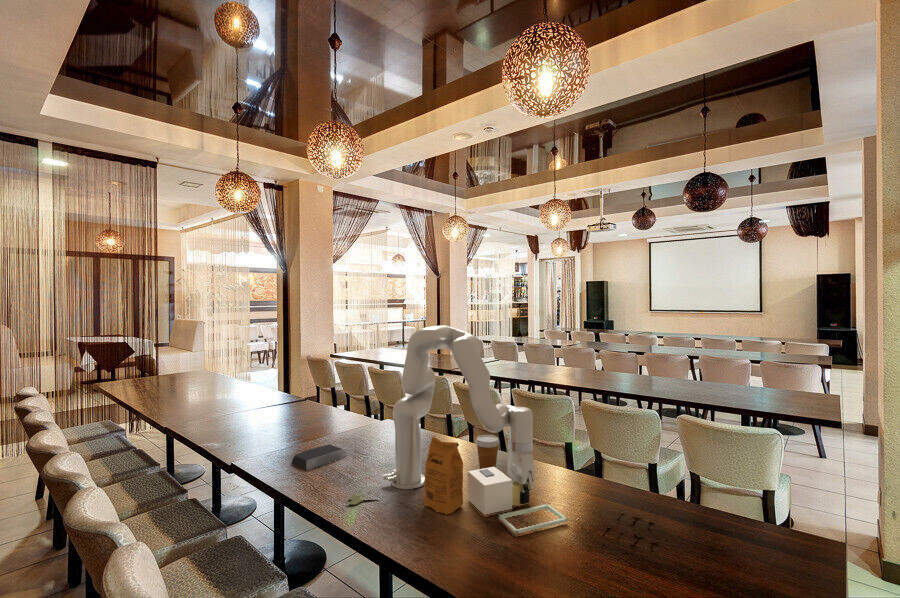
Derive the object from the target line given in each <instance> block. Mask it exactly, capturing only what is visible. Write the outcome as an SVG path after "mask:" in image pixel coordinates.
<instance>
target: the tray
mask: <svg viewBox="0 0 900 598" xmlns="http://www.w3.org/2000/svg"><path fill="white" fill-rule="evenodd" d="M543 509H545V510H546V509H548V512H552V513H554V515H557V516H558V517H559V518H560V519H559V518H558V519H557V520H555V519H554V520H553V521H549V522H545V523H540V524H536V525H532V526H528V527H524V528H520V529H516V528H515V527H514V526H513V525H512V524H511V523H509V522H508V521H507V520H506V519H505V518H508V517H512V516H517V515H522V514H526V513H530V512H535V511H539V510H543ZM549 510H550V511H549ZM545 512H546V511H545ZM526 515H527V514H526ZM499 519H500V520H502V521H503V522H504V523H505V524H506V525H507V526H508V527H509V528H510V529H511V530H512V531H513V532H514V533H515V534H518V533H523V532H527V531H531V530H535V529H539V528H544V527H548V526H552V525H556V524H560V523H563V522H567V521H568V517H566V515H563V514H562V513H561V512H559V511H558V510H557V509H555V508H554V507H553V506H551V505H550V504H548V503H546V504H542V505H536V506H533V507H529V508H524V509H519V510H515V511H512V512H507V513H503V514H498V520H499Z"/></svg>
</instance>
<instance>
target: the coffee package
mask: <svg viewBox="0 0 900 598" xmlns="http://www.w3.org/2000/svg"><path fill="white" fill-rule="evenodd" d="M459 445H460V444H459V443H458V442H454V441H453V442H452V441H441V440H440V439H438V437H436V436H435V435H434V436H432V437H431V440H430V444H429V447H428V452H427V457H426V461H425V470H424V471H425V472H424V477H425V479H424V485H423V490H424V506H425V507H426V506H428V507H427V508H430V507H431V508H430V509H432V510H433V509H434V510H435V511H438V512H442V513H441V514H443V513H445V515H447V514H449V515H451V514H453V513H454V512H455V511H456V510H458V509H459V508H461V507H462V506H463V505H464V492H463V486H464V462H463V458H462V456H461V453H460V450H459ZM434 510H433V511H434ZM435 511H434V512H435ZM438 512H437V513H438ZM450 513H451V514H450Z"/></svg>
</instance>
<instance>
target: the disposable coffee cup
mask: <svg viewBox="0 0 900 598" xmlns="http://www.w3.org/2000/svg"><path fill="white" fill-rule="evenodd" d="M475 444H476V448H477V457H478V465H479V469H480V468H481V469H484V468H489V467H495V468H497V459H498V458H497V457H498V452H499V451H498V449H499V444H500V440H499V437H498V436H496V435H491V434H484V435H478V436H477V437H476V440H475Z"/></svg>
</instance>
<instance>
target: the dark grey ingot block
mask: <svg viewBox="0 0 900 598" xmlns="http://www.w3.org/2000/svg"><path fill="white" fill-rule="evenodd" d="M346 456H347V454H346V450H345V449H344V448H341V447H339V446H335V445H332V444H326V445H322V446H317V447H314V448H310V449H306V450H304V451H301V452H299V453H296V454H295V455H294V456H293V457H292V459H291V464H293V465H294V466H297V467H298V466H299V467H298V468H301V469H303V470H305V471H309V469H310V470H312V468H313V469H316V468H315V467H317V468H319V467H318V466H320V467H322V465H323V466H325V465H324V464H326V465H328V464H327V463H329V462H332V461H335V460H337V461H340V460H342V459H341V458H343V459H345V458H347V457H346ZM344 457H345V458H344ZM339 459H340V460H339ZM335 462H336V461H335ZM332 463H333V462H332ZM329 464H330V463H329Z"/></svg>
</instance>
